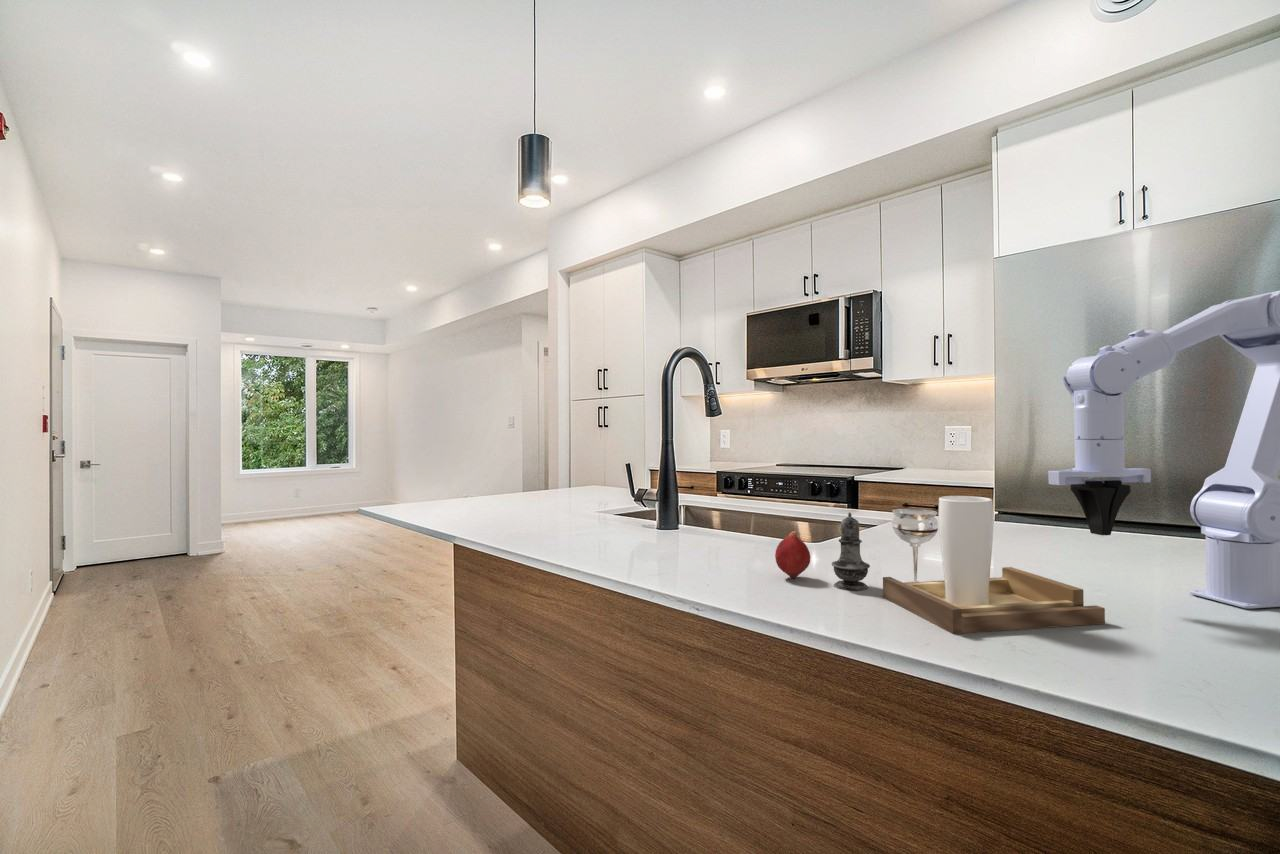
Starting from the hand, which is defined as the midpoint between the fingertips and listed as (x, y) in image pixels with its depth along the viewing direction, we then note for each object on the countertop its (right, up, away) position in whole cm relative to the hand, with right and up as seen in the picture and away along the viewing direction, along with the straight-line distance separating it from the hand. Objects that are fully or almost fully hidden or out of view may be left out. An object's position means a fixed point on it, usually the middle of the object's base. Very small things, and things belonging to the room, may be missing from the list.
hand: (1100, 534), depth 88 cm
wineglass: (-22, -10, +11) cm, 26 cm away
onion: (-40, -11, +17) cm, 45 cm away
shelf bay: (-17, -10, -2) cm, 20 cm away
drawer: (-17, -10, -2) cm, 20 cm away
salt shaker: (-32, -11, +11) cm, 35 cm away
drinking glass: (-20, -10, -2) cm, 23 cm away
